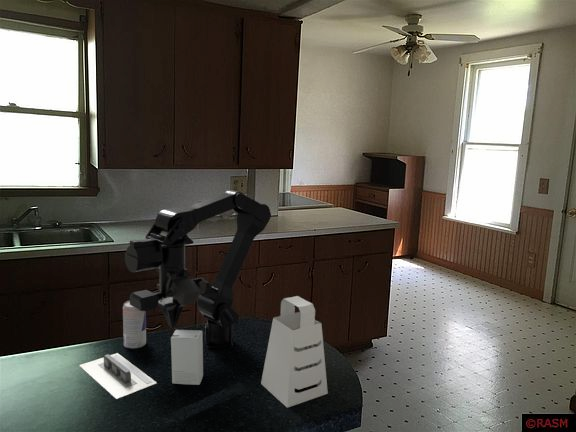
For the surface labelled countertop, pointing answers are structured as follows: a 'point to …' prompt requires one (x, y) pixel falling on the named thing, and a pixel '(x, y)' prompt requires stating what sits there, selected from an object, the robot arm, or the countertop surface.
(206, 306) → the robot arm
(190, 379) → the skincare box
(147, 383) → the breaker panel
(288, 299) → the grater
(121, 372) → the breaker paddles
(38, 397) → the countertop surface
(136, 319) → the energy drink
